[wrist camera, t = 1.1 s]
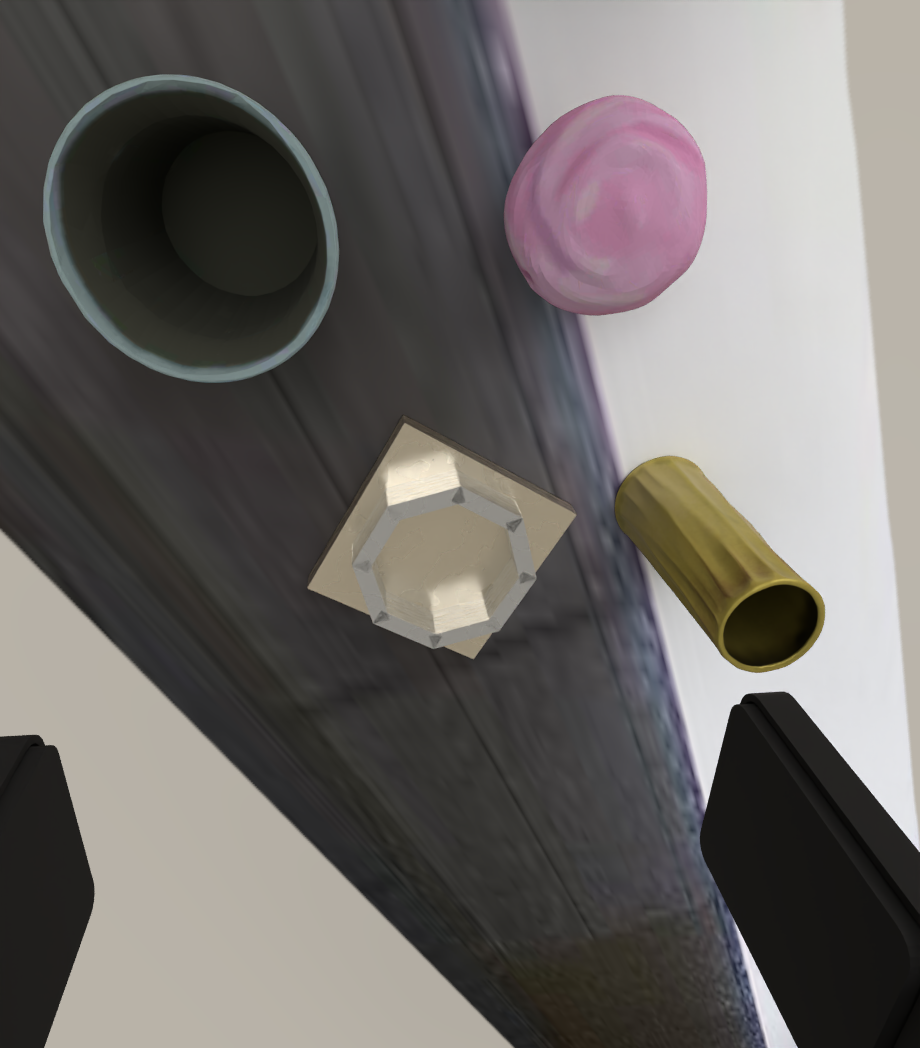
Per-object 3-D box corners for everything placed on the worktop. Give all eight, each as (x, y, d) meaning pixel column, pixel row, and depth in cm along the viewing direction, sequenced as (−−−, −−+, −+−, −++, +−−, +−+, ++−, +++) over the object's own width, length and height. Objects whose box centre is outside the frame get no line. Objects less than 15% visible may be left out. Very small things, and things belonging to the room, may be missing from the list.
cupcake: (582, 65, 35) (656, 35, 27) (684, 205, 39) (780, 220, 30) (450, 205, 38) (478, 220, 29) (558, 327, 41) (613, 374, 32)
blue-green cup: (309, 348, 40) (292, 418, 29) (114, 277, 37) (17, 326, 26) (372, 154, 36) (378, 154, 25) (160, 59, 33) (67, 14, 23)
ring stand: (403, 414, 42) (407, 438, 39) (570, 504, 46) (588, 533, 42) (308, 575, 46) (304, 610, 42) (470, 645, 50) (478, 683, 46)
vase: (677, 553, 49) (789, 693, 36) (596, 526, 47) (684, 663, 34) (724, 472, 46) (861, 592, 34) (641, 441, 45) (753, 555, 32)
